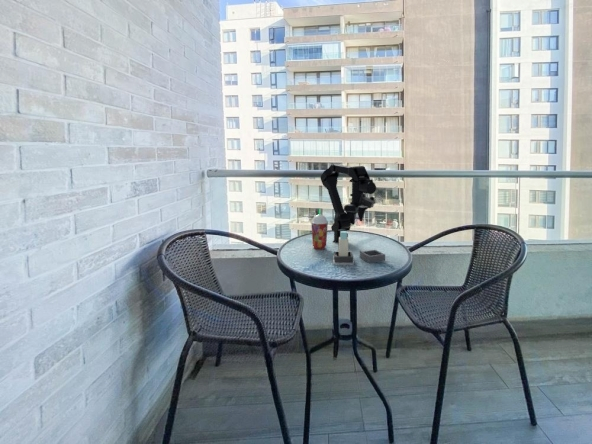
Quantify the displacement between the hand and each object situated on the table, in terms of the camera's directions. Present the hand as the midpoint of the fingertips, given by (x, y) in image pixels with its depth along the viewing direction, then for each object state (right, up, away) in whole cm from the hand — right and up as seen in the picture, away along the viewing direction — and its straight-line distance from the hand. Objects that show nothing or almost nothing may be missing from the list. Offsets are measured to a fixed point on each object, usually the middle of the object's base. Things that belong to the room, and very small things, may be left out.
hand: (357, 222), depth 204 cm
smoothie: (-19, -13, +3) cm, 23 cm away
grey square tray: (+5, -17, -16) cm, 24 cm away
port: (-9, -18, -19) cm, 27 cm away
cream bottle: (-9, -17, -19) cm, 27 cm away
